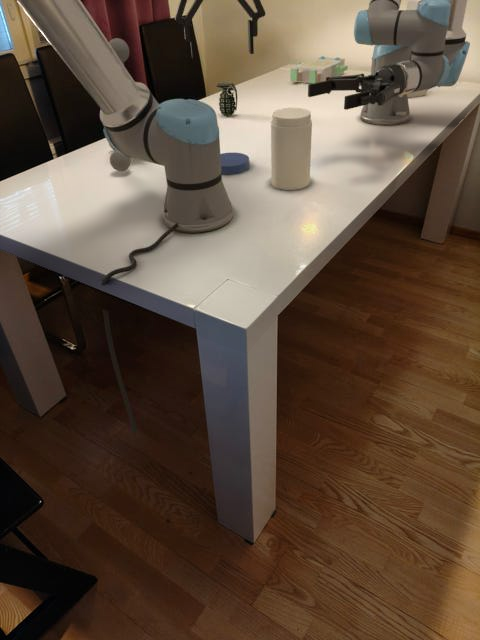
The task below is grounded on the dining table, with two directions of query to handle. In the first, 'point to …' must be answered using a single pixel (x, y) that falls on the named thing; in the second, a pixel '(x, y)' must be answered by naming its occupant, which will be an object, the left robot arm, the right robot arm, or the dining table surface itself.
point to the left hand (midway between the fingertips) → (222, 55)
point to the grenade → (227, 99)
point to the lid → (234, 163)
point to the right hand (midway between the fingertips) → (326, 96)
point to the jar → (291, 148)
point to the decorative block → (317, 70)
